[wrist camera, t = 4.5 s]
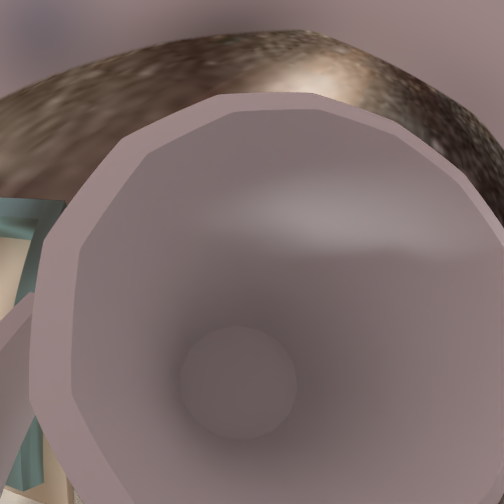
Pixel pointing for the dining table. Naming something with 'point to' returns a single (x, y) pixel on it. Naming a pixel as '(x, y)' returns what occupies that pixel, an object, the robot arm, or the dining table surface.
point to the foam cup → (273, 315)
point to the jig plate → (3, 301)
